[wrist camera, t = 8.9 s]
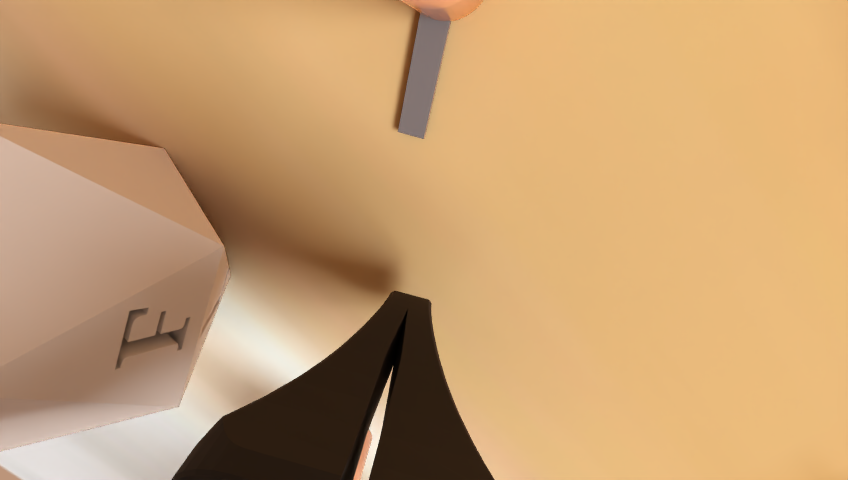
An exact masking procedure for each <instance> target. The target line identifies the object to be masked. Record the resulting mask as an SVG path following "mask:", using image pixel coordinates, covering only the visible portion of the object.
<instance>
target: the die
mask: <svg viewBox="0 0 848 480" xmlns="http://www.w3.org/2000/svg"><path fill="white" fill-rule="evenodd" d="M230 276H231V274H230V269H229V265H228V261H227V256H226V252H225V248H224V245H223V243H222V242H221V240H220V239H219V237H218V235H217V234H216V232H215V230H214V229H213V227H212V225H211V224H210V222H209V221H208V219H207V217H206V216H205V214H204V212H203V211H202V209H201V208H200V206H199V204H198V203H197V201H196V199H195V198H194V196H193V194H192V193H191V191H190V190H189V188H188V186H187V185H186V183H185V181H184V180H183V178H182V177H181V175H180V173H179V172H178V170H177V168H176V167H175V165H174V163H173V162H172V160H171V159H170V157H169V155H168V154H167V152H166V150H165V149H164V148H159V147H152V146H146V145H139V144H133V143H126V142H119V141H113V140H106V139H100V138H93V137H86V136H80V135H73V134H67V133H60V132H54V131H47V130H40V129H34V128H27V127H21V126H14V125H7V124H1V123H0V452H1V451H5V450H9V449H13V448H17V447H21V446H25V445H29V444H33V443H37V442H41V441H44V440H48V439H52V438H56V437H60V436H64V435H68V434H72V433H76V432H80V431H84V430H88V429H92V428H96V427H100V426H104V425H108V424H112V423H116V422H120V421H124V420H128V419H132V418H136V417H140V416H144V415H148V414H152V413H156V412H160V411H164V410H168V409H172V408H176V407H179V405H180V402H181V400H182V397H183V395H184V392H185V390H186V387H187V385H188V382H189V380H190V377H191V375H192V372H193V370H194V367H195V364H196V362H197V359H198V357H199V354H200V352H201V349H202V347H203V344H204V342H205V339H206V337H207V334H208V332H209V329H210V327H211V324H212V322H213V319H214V316H215V314H216V311H217V309H218V306H219V304H220V301H221V299H222V296H223V294H224V291H225V289H226V286H227V284H228V281H229V279H230Z"/></svg>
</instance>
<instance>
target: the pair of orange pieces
mask: <svg viewBox="0 0 848 480" xmlns="http://www.w3.org/2000/svg"><path fill="white" fill-rule="evenodd" d="M401 1H402V2H404V3H405V4H407V5H409V6H410V7H412V8H413V9H415V10H416V11H418V12H419V13H420V17H419V22H418V28H417V33H416V38H415V44H414V49H413V54H412V60H411V65H410V70H409V76H408V81H407V86H406V92H405V97H404V102H403V108H402V113H401V118H400V124H399V129H398V132H400V133H404V134H408V135H411V136H415V137H419V138H422V139H424V138H425V134H426V130H427V125H428V121H429V116H430V112H431V107H432V103H433V99H434V94H435V90H436V85H437V81H438V77H439V72H440V68H441V63H442V59H443V55H444V50H445V46H446V41H447V37H448V33H449V28H450V24H451V21H455V20H459V19H461V18H463V17H465V16H467V15H469V14H470V13H472V12H473V11H474V10H475V9H476V8H477V7H478V6H479V5H480V4H481V3H482V2H483V0H401ZM371 441H372V435H371V432H370V431H369V430H368V432H367V435H366V438H365V442H364V445H363V449H362V452H361V455H360V459H359V462H358V465H357V469H356V472H355V476H354V479H353V480H360V479H361V476H362V472H363V469H364V465H365V462H366V458H367V455H368V451H369V448H370V444H371Z"/></svg>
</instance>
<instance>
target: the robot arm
mask: <svg viewBox="0 0 848 480" xmlns="http://www.w3.org/2000/svg"><path fill="white" fill-rule="evenodd" d="M392 367H393V371H392V376H391V382H390V387H389V393H388V399H387V404H386V410H385V415H384V421H383V426H382V431H381V436H380V440H379V444H378V448H377V451H376V455H375V459H374V463H373V466H372V470H371V474H370V478H369V480H494V478H493V476H492V475H491V473H490V471H489V470H488V468H487V466H486V465H485V463H484V461H483V460H482V458H481V456H480V454H479V452H478V451H477V449H476V447H475V445H474V443H473V441H472V439H471V437H470V435H469V433H468V431H467V429H466V427H465V425H464V423H463V421H462V419H461V417H460V415H459V412H458V410H457V408H456V405H455V403H454V400H453V398H452V395H451V393H450V390H449V387H448V385H447V382H446V379H445V376H444V373H443V369H442V366H441V362H440V359H439V355H438V351H437V346H436V342H435V337H434V332H433V325H432V316H431V302H430V301H429V300H428V299H424V298H420V297H416V296H413V295H409V294H405V293H402V292H398V291H393V292H391V294H390V295H389V297H388V298H387V300H386V301H385V302H384V304H383V305H382V306H381V307H380V309H379V310H378V311H377V312H376V313H375V314H374V315H373V316H372V317H371V318H370V320H369V321H368V322H367V323H366V324H365V325H364V326H363V327H362V328H361V329H360V330H359V331H357V332H356V333H355V334H354V335H353V336H352V337H351V338H350V339H349V340H348V341H347V342H345V343H344V344H343V345H342V346H341V347H339V348H338V349H337V350H336V351H334V352H333V353H332V354H331V355H329V356H328V357H327V358H325V359H324V360H323V361H321V362H320V363H318V364H317V365H315V366H314V367H312V368H311V369H310V370H308V371H307V372H305V373H304V374H302V375H301V376H299V377H297V378H296V379H294V380H292V381H291V382H289V383H287V384H285V385H284V386H282V387H280V388H278V389H277V390H275V391H273V392H271V393H270V394H268V395H266V396H264V397H262V398H260V399H258V400H256V401H254V402H252V403H250V404H248V405H246V406H244V407H242V408H240V409H238V410H235V411H233V412H231V413H229V414H227V415H225V416H223V417H222V418H221V419H220V420H219V421H218V422H217V423H216V424H215V425H214V426H213V427H212V428H211V429H210V430H209V431H208V433H207V434H206V435H205V436H204V437H203V438H202V439H201V440H200V441H199V443H198V444H197V445H196V446H195V448H194V449H193V450H192V452H191V453H190V454H189V456H188V457H187V459H186V460H185V461H184V463H183V464H182V466H181V467H180V468H179V470H178V471H177V473H176V474H175V475H174V477H173V479H172V480H353V479H354V476H355V472H356V469H357V465H358V462H359V459H360V455H361V452H362V449H363V445H364V442H365V438H366V435H367V432H368V429H369V427H370V424H371V421H372V419H373V416H374V413H375V411H376V408H377V406H378V403H379V401H380V398H381V396H382V393H383V390H384V388H385V385H386V383H387V380H388V378H389V375H390V372H391V370H392Z"/></svg>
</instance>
